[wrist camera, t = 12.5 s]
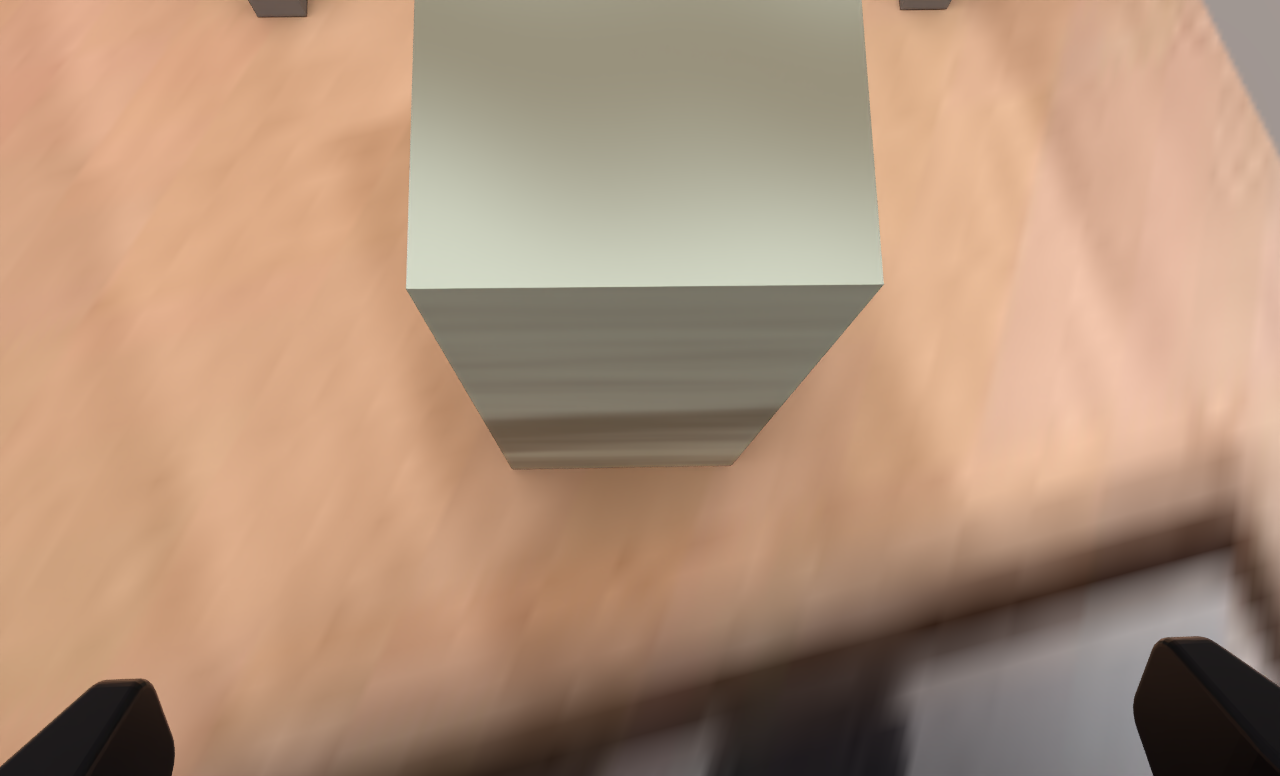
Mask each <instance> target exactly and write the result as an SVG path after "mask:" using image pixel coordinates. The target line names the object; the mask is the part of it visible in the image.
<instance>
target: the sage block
mask: <svg viewBox="0 0 1280 776" xmlns="http://www.w3.org/2000/svg"><path fill="white" fill-rule="evenodd" d="M883 285H884V282H883V269H882V256H881V244H880V231H879V218H878V205H877V193H876V180H875V167H874V154H873V141H872V129H871V116H870V103H869V90H868V77H867V65H866V52H865V39H864V26H863V14H862V1H861V0H415V4H414V39H413V73H412V107H411V141H410V175H409V209H408V243H407V277H406V290H407V291H408V293H409V295H410V296H411V298H412V300H413V301H414V303H415V305H416V307H417V308H418V310H419V312H420V313H421V315H422V317H423V318H424V320H425V322H426V324H427V325H428V327H429V329H430V330H431V332H432V334H433V335H434V337H435V339H436V341H437V342H438V344H439V346H440V347H441V349H442V351H443V352H444V354H445V356H446V358H447V359H448V361H449V363H450V364H451V366H452V368H453V369H454V371H455V373H456V375H457V376H458V378H459V380H460V381H461V383H462V385H463V386H464V388H465V390H466V392H467V393H468V395H469V397H470V398H471V400H472V402H473V403H474V405H475V407H476V409H477V410H478V412H479V414H480V415H481V417H482V419H483V420H484V422H485V424H486V426H487V427H488V429H489V431H490V432H491V434H492V436H493V437H494V439H495V441H496V443H497V444H498V446H499V448H500V449H501V451H502V453H503V454H504V456H505V458H506V460H507V461H508V463H509V465H510V466H511V468H512V469H553V468H613V467H673V466H731V465H732V464H733V463H734V462H735V461H736V459H737V458H738V457H739V456H740V455H741V453H742V452H743V451H744V450H745V449H746V447H747V446H748V445H749V444H750V443H751V441H752V440H753V439H754V438H755V437H756V436H757V434H758V433H759V432H760V431H761V430H762V428H763V427H764V426H765V425H766V424H767V422H768V421H769V420H770V419H771V418H772V417H773V415H774V414H775V413H776V412H777V411H778V409H779V408H780V407H781V406H782V405H783V403H784V402H785V401H786V400H787V399H788V398H789V396H790V395H791V394H792V393H793V392H794V390H795V389H796V388H797V387H798V386H799V384H800V383H801V382H802V381H803V380H804V379H805V377H806V376H807V375H808V374H809V373H810V371H811V370H812V369H813V368H814V367H815V365H816V364H817V363H818V362H819V361H820V359H821V358H822V357H823V356H824V355H825V354H826V352H827V351H828V350H829V349H830V348H831V346H832V345H833V344H834V343H835V342H836V340H837V339H838V338H839V337H840V336H841V335H842V333H843V332H844V331H845V330H846V329H847V327H848V326H849V325H850V324H851V323H852V321H853V320H854V319H855V318H856V317H857V316H858V314H859V313H860V312H861V311H862V310H863V308H864V307H865V306H866V305H867V304H868V302H869V301H870V300H871V299H872V298H873V297H874V295H875V294H876V293H877V292H878V291H879V289H880V288H881V287H882V286H883Z"/></svg>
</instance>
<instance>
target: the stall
mask: <svg viewBox="0 0 1280 776" xmlns="http://www.w3.org/2000/svg"><path fill="white" fill-rule="evenodd" d="M248 1H249V2H250V4H251V6H252V8H253V9H254V11H255V13H256V15H257V16H258V17H269V16H306V14H307V0H248ZM899 1H900V9H947V7H948V5H949V4H950V2H951V0H899Z"/></svg>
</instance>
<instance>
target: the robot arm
mask: <svg viewBox="0 0 1280 776" xmlns="http://www.w3.org/2000/svg"><path fill="white" fill-rule="evenodd" d="M1133 711H1134V719H1135V723H1136V727H1137V730H1138V733H1139V736H1140V739H1141V741H1142V744H1143V747H1144V750H1145V753H1146V756H1147V759H1148V762H1149V765H1150V767H1151V770H1152V773H1153V776H1280V687H1279V686H1278V685H1277V684H1275V683H1274V682H1272V681H1271V680H1269V679H1268V678H1266V677H1265V676H1263V675H1262V674H1261V673H1259V672H1258V671H1256V670H1255V669H1253V668H1252V667H1250V666H1249V665H1248V664H1246V663H1245V662H1243V661H1242V660H1240V659H1239V658H1237V657H1236V656H1235V655H1233V654H1232V653H1230V652H1229V651H1227V650H1226V649H1224V648H1223V647H1221V646H1220V645H1219V644H1217V643H1215V642H1214V641H1212V640H1210V639H1208V638H1205V637H1199V636H1193V637H1168V638H1163V639H1161V640H1159V641H1158V642H1157V643H1156V644H1155V645H1154V647H1153V649H1152V651H1151V654H1150V657H1149V659H1148V662H1147V665H1146V667H1145V670H1144V673H1143V675H1142V678H1141V681H1140V683H1139V686H1138V689H1137V691H1136V694H1135V697H1134V704H1133ZM174 758H175V747H174V740H173V737H172V734H171V731H170V728H169V726H168V723H167V720H166V717H165V715H164V712H163V709H162V707H161V704H160V701H159V698H158V696H157V693H156V690H155V689H154V687H153V685H152V684H151V683H150V682H149V681H147V680H146V679H116V680H104V681H101V682H98V683H97V684H95V685H93V686H92V687H90V688H89V689H88V690H87V691H86V692H85V693H83V694H82V695H81V696H80V697H79V698H78V699H77V700H75V701H74V702H73V703H72V704H71V705H70V706H69V707H68V708H66V709H65V710H64V711H63V712H62V713H61V714H60V715H58V716H57V717H56V718H55V719H54V720H53V721H52V722H50V723H49V724H48V725H47V726H46V727H45V728H44V729H43V730H41V731H40V732H39V733H38V734H37V735H36V736H35V737H33V738H32V739H31V740H30V741H29V742H28V743H27V744H26V745H24V746H23V747H22V748H21V749H20V750H19V751H18V752H16V753H15V754H14V755H13V756H12V757H11V758H10V759H8V760H7V761H6V762H5V763H4V764H3V765H2V766H1V767H0V776H172V771H173V766H174Z"/></svg>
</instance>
